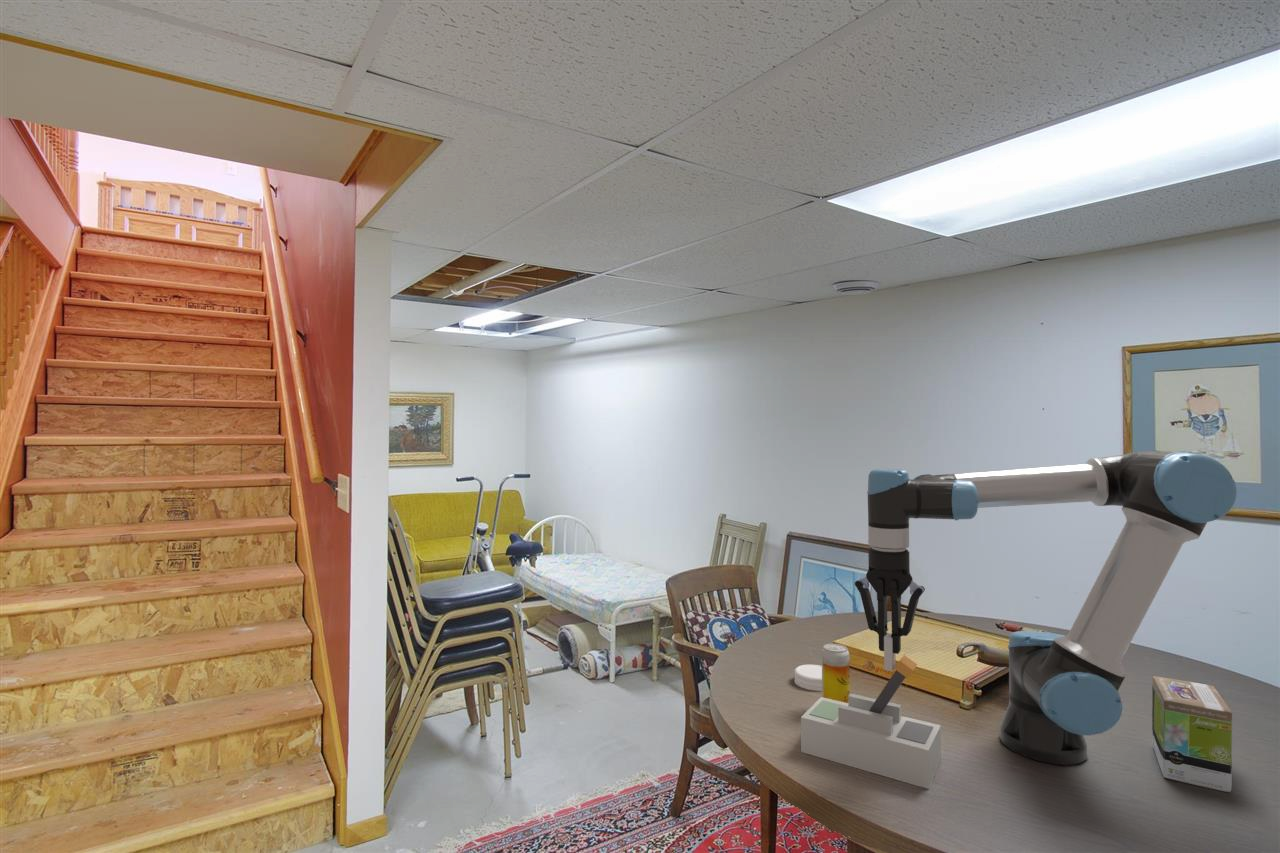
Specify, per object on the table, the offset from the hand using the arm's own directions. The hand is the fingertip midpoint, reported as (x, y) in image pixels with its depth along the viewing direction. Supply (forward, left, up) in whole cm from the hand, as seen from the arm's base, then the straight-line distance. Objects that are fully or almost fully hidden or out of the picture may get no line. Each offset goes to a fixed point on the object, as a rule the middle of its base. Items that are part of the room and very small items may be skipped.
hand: (889, 668), depth 126 cm
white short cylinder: (+26, -30, -19) cm, 44 cm away
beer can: (+16, -16, -19) cm, 29 cm away
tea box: (-48, -30, -19) cm, 59 cm away
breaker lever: (+4, 0, -11) cm, 12 cm away
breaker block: (+4, 0, -18) cm, 19 cm away
